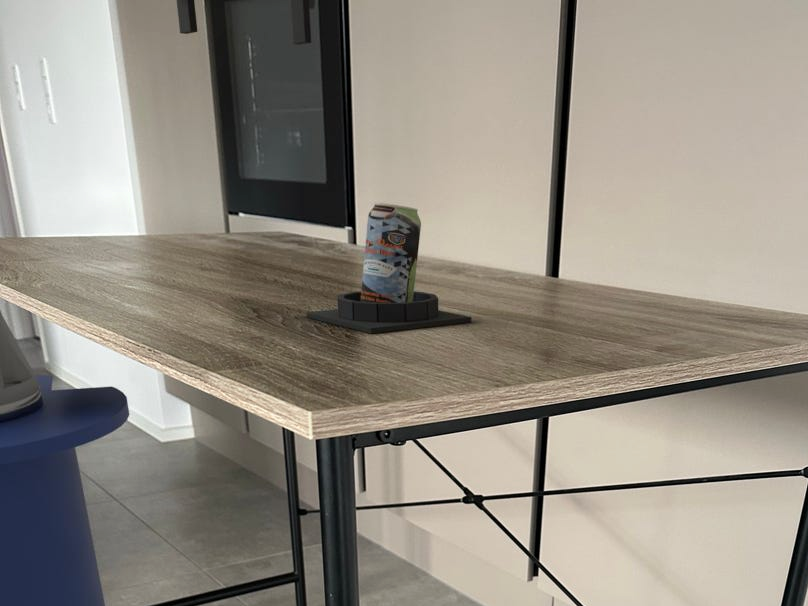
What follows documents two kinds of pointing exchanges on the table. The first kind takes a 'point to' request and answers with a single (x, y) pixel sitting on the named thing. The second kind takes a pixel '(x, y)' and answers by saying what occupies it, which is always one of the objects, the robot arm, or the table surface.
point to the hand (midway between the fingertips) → (247, 38)
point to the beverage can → (390, 254)
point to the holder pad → (388, 326)
